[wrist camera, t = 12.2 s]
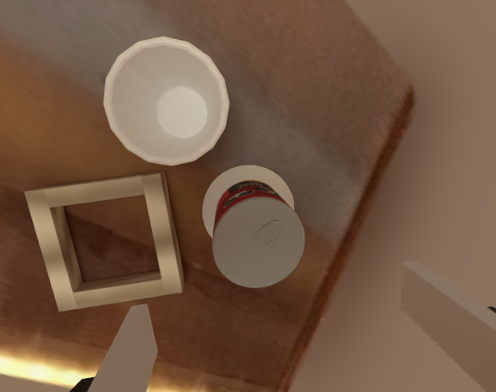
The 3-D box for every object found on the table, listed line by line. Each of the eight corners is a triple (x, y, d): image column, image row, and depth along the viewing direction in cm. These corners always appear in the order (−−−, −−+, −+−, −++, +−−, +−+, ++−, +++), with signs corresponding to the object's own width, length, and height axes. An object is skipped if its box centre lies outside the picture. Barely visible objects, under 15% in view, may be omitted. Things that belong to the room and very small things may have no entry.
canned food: (291, 193, 34) (321, 219, 24) (263, 252, 36) (280, 301, 25) (232, 167, 33) (236, 182, 23) (205, 229, 35) (196, 270, 24)
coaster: (195, 171, 34) (195, 171, 33) (288, 159, 34) (290, 159, 34) (210, 259, 36) (209, 261, 35) (297, 245, 37) (298, 247, 36)
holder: (39, 187, 33) (24, 191, 30) (164, 171, 33) (160, 173, 31) (70, 299, 35) (59, 311, 33) (185, 281, 36) (182, 292, 34)
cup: (246, 112, 33) (254, 103, 24) (186, 176, 34) (172, 190, 25) (178, 44, 31) (160, 5, 22) (117, 113, 32) (74, 104, 23)
